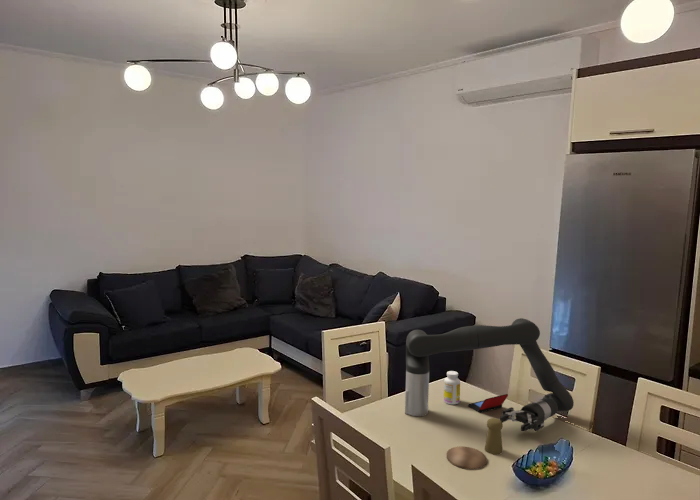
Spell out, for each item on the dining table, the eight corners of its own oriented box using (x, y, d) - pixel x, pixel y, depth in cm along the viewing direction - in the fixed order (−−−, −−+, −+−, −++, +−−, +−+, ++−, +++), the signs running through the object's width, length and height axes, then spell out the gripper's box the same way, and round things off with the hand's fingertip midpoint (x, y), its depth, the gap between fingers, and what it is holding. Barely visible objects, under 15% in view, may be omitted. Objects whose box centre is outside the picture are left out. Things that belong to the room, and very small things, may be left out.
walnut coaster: (448, 467, 159) (448, 465, 159) (445, 447, 172) (445, 445, 172) (489, 470, 158) (489, 468, 158) (483, 450, 171) (483, 447, 171)
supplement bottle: (457, 398, 214) (458, 369, 213) (461, 405, 207) (462, 375, 206) (441, 398, 214) (442, 370, 212) (445, 405, 207) (446, 375, 206)
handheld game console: (489, 401, 212) (490, 384, 211) (508, 411, 203) (509, 393, 202) (466, 406, 207) (467, 389, 206) (484, 417, 197) (485, 399, 196)
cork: (503, 455, 167) (505, 424, 166) (485, 453, 168) (486, 422, 167) (501, 446, 173) (503, 416, 172) (483, 444, 174) (485, 415, 173)
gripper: (519, 396, 191) (494, 407, 181) (554, 409, 180) (529, 421, 170) (518, 415, 192) (493, 426, 182) (553, 429, 181) (528, 442, 171)
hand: (511, 424), depth 176 cm, fingers open, 8 cm apart
